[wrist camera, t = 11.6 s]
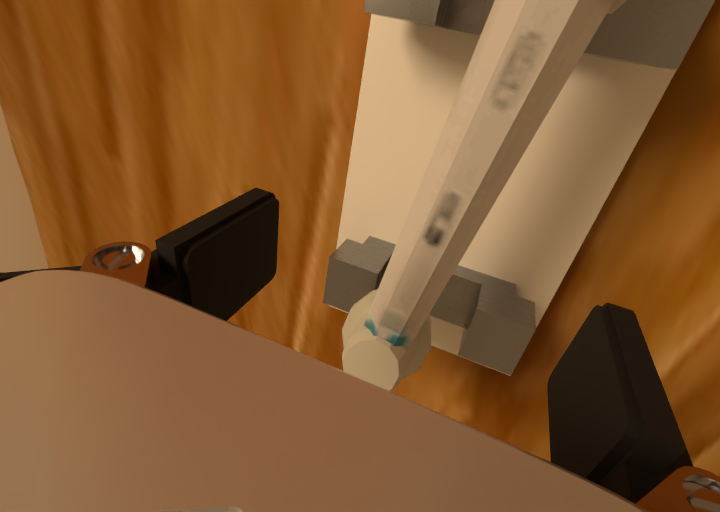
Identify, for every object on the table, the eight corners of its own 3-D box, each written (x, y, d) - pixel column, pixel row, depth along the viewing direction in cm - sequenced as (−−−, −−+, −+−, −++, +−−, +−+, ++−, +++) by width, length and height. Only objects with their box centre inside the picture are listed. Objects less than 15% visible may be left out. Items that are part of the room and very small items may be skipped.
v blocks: (407, -71, 20) (379, -99, 16) (698, -34, 17) (747, -59, 13) (347, 273, 31) (323, 302, 28) (512, 333, 28) (510, 375, 24)
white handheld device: (753, -170, 10) (387, 445, 20) (654, -61, 16) (411, 370, 26) (552, -221, 10) (303, 397, 21) (531, -99, 16) (345, 335, 27)
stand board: (409, -167, 19) (401, -183, 18) (779, -143, 16) (801, -160, 14) (334, 296, 35) (327, 305, 34) (510, 363, 31) (510, 376, 30)
